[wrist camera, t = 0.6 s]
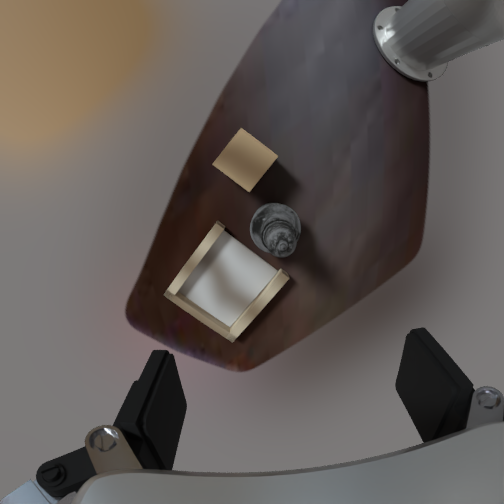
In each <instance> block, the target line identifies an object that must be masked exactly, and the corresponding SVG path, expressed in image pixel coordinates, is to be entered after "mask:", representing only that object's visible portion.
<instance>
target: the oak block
mask: <svg viewBox="0 0 504 504" xmlns="http://www.w3.org/2000/svg"><path fill="white" fill-rule="evenodd" d="M277 157H278V156H277V155H276V154H275V153H274V152H272V151H271V150H270V149H268V148H267V147H266V146H264V145H263V144H262V143H261V142H259V141H258V140H257V139H255V138H254V137H253V136H251V135H250V134H249V133H247V132H246V131H245V130H243V129H242V128H241V129H240V130H239V131H238V132H237V134H236V135H235V136H234V137H233V139H232V140H231V141H230V142H229V144H228V145H227V146H226V147H225V149H224V150H223V151H222V153H221V154H220V155H219V156H218V158H217V159H216V160H215V162H214V163H213V164H212V165H214V166H215V167H216V168H218V169H219V170H220V171H222V172H223V173H224V174H226V175H227V176H228V177H230V178H231V179H232V180H234V181H235V182H236V183H238V184H239V185H240V186H242V187H243V188H244V189H246V190H247V191H248V192H250V191H251V190H252V188H253V187H254V186H255V185H256V183H257V182H258V181H259V180H260V178H261V177H262V176H263V175H264V173H265V172H266V171H267V170H268V168H269V167H270V166H271V165H272V163H273V162H274V161H275V160H276V158H277Z"/></svg>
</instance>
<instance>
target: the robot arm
mask: <svg viewBox="0 0 504 504" xmlns="http://www.w3.org/2000/svg"><path fill="white" fill-rule="evenodd" d="M373 36H374V40H375V43H376V45H377V47H378V49H379V51H380V53H381V54H382V56H383V57H384V58H385V60H386V61H387V62H388V63H389V64H390V65H391V66H392V67H393V68H394V69H395V70H397V71H398V72H399V73H401V74H403V75H404V76H406V77H408V78H410V79H413V80H416V81H421V82H428V81H431V80H435V79H437V78H438V77H440V76H441V75H443V73H444V72H445V70H446V68H447V64H448V61H451V60H453V59H455V58H458V57H460V56H463V55H465V54H467V53H470V52H472V51H475V50H477V49H480V48H482V47H485V46H488V45H490V44H493V43H495V42H498V41H501V40H503V39H504V0H409V1H408V2H407V3H405V4H404V5H403V6H402V7H399V6H394V7H388V8H386V9H384V10H383V11H381V12H380V13H379V14H378V15H377V17H376V18H375V20H374V24H373ZM396 390H397V392H398V394H399V396H400V398H401V400H402V402H403V404H404V405H405V407H406V409H407V411H408V413H409V415H410V416H411V419H412V421H413V423H414V425H415V426H416V429H417V430H418V432H419V434H420V436H421V438H422V440H423V442H424V443H422V444H419V445H416V446H413V447H409V448H406V449H402V450H399V451H395V452H391V453H387V454H383V455H379V456H375V457H370V458H366V459H361V460H357V461H351V462H346V463H340V464H334V465H328V466H321V467H313V468H306V469H296V470H286V471H272V472H249V473H215V472H188V471H174V470H172V468H173V463H174V459H175V455H176V451H177V447H178V442H179V438H180V434H181V429H182V426H183V421H184V418H185V414H186V409H187V404H186V399H185V396H184V392H183V389H182V385H181V381H180V378H179V374H178V370H177V366H176V363H175V359H174V356H173V354H169V352H168V351H167V350H153V352H152V353H151V355H150V357H149V359H148V361H147V363H146V366H145V368H144V370H143V372H142V374H141V376H140V378H139V380H138V381H134V383H133V384H132V386H131V388H130V391H129V392H128V395H127V397H126V399H125V401H124V403H123V405H122V407H121V409H120V411H119V413H118V415H117V418H116V420H115V422H114V424H113V426H111V425H102V426H98V427H96V428H94V429H92V430H91V431H90V432H89V433H88V434H87V436H86V438H85V447H83V448H80V449H78V450H76V451H73V452H71V453H68V454H66V455H63V456H61V457H58V458H56V459H53V460H50V461H48V462H46V463H44V464H42V465H41V466H40V467H39V469H38V471H37V474H36V480H35V481H32V480H31V479H30V480H29V481H27V482H26V483H24V484H23V485H22V486H20V487H19V488H17V489H16V490H14V491H13V492H11V493H10V494H8V495H7V496H5V497H4V498H2V499H1V500H0V504H504V397H503V395H502V393H501V392H500V391H499V390H497V389H495V388H493V387H488V386H484V387H480V388H478V389H477V390H476V391H475V390H474V388H473V384H472V382H471V381H470V380H469V379H468V377H467V376H466V375H465V374H464V373H463V372H462V370H461V369H460V368H459V367H458V365H457V364H456V363H455V362H454V361H453V359H452V358H451V357H450V356H449V355H448V354H447V353H446V351H445V350H444V349H443V348H442V347H441V346H440V344H439V343H438V342H437V341H436V340H435V339H434V338H433V337H432V335H431V334H430V333H429V332H428V331H427V330H426V329H425V328H418V329H412V330H411V331H410V333H409V334H407V336H406V340H405V345H404V350H403V355H402V359H401V363H400V367H399V371H398V375H397V379H396Z"/></svg>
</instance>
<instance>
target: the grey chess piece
mask: <svg viewBox="0 0 504 504" xmlns="http://www.w3.org/2000/svg"><path fill="white" fill-rule="evenodd" d="M250 233H251V237H252V239H253V241H254V243H255V244H256V245H257V246H258V247H259V248H260V249H261V250H263V251H265V252H268V253H271V254H272V255H274V256H276V257H287V256H289V255H290V254H292V253H293V251H294V250H295V248H296V245H297V241H298V239H299V237H300V234H301V223H300V219H299V217H298V215H297V214H296V213H295V212H294V210H293V209H291V208H290V207H288V206H286V205H283V204H280V203H267V204H265V205H263V206H261V207H260V208H259V209H258V210H257V211H256V213H255V214H254V216H253V218H252V221H251V224H250Z"/></svg>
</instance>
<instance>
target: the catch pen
mask: <svg viewBox="0 0 504 504" xmlns="http://www.w3.org/2000/svg"><path fill="white" fill-rule="evenodd" d="M224 229H225V226H224V225H223V224H222V223H220V222H219V221H217V223H216V224H215V225H214V226H213V228H212V229H211V230H210V232H209V233H208V234H207V236H206V237H205V238H204V240H203V241H202V242H201V244H200V245H199V246H198V248H197V249H196V251H195V252H194V253H193V255H192V256H191V257H190V259H189V260H188V261H187V263H186V264H185V265H184V267H183V268H182V270H181V271H180V272H179V274H178V275H177V277H176V278H175V279H174V281H173V282H172V283H171V285H170V286H169V288H168V289H167V291H166V292H165V294H164V296H165V297H167V298H168V299H170V300H171V301H172V302H174V303H175V304H177V305H178V306H179V307H181V308H182V309H184V310H185V311H186V312H188V313H189V314H191V315H192V316H194V317H195V318H197V319H198V320H200V321H201V322H203V323H204V324H205V325H207V326H208V327H210V328H211V329H213V330H214V331H216V332H217V333H219V334H221V335H222V336H224V337H225V338H227V339H228V340H230V341H231V342H233V341H234V340H235V339H236V338H237V337H238V336H239V335H240V334H241V333H242V331H243V330H244V329H245V328H246V327H247V326H248V325H249V324H250V323H251V322H252V320H253V319H254V318H255V317H256V316H257V315H258V314H259V313H260V311H261V310H262V309H263V308H264V307H265V306H266V305H267V304H268V302H269V301H270V300H271V299H272V298H273V297H274V296H275V295H276V293H277V292H278V291H279V290H280V289H281V288H282V286H283V285H284V284H285V283H286V282H287V281H288V280H289V275H288V273H286V272H285V271H284V270H282V269H280V270H279V271H278V270H276V269H275V268H274V267H272V266H271V265H270V264H268V263H267V262H266V261H264V260H263V259H262V258H260V257H259V256H258V255H256V254H255V253H254V252H252V251H251V250H250V249H248V248H247V247H246V246H244V245H243V244H242V243H240V242H239V241H238V240H236V239H235V238H234V237H232V236H231V235H230V234H228V233H227V232H226V231H224ZM275 274H276V275H275ZM264 287H265V288H264ZM251 302H252V303H251Z"/></svg>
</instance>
